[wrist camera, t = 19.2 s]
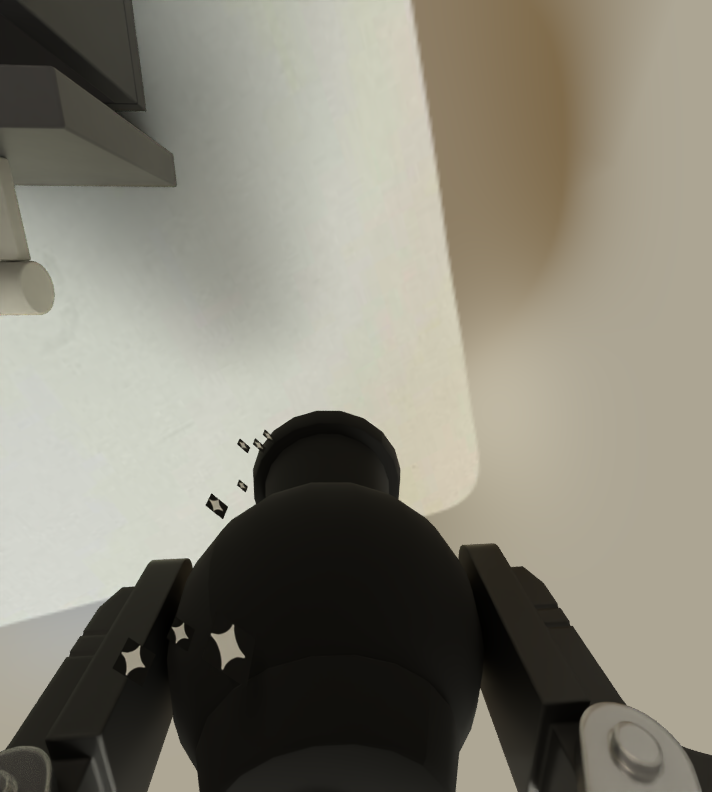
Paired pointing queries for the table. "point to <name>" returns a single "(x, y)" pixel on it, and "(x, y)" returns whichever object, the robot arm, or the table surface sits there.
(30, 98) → the open grey drawer
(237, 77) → the table surface
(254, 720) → the gumball machine
